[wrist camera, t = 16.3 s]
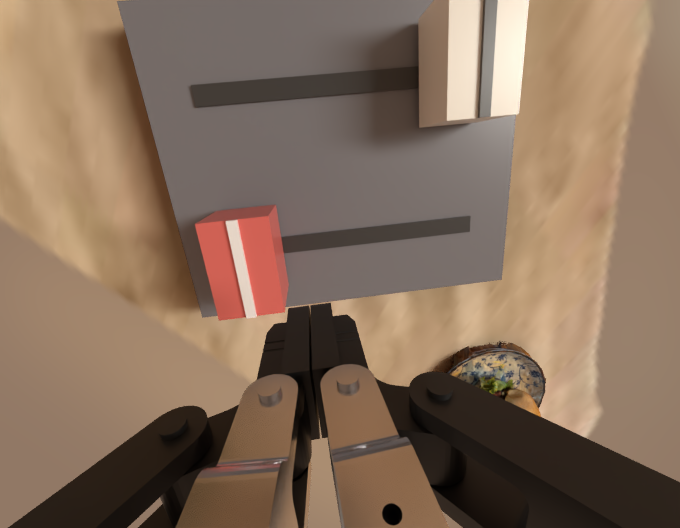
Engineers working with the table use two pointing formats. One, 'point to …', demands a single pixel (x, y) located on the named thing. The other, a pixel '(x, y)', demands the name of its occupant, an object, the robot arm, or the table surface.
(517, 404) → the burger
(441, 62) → the block
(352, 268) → the console
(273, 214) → the block
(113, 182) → the table surface
